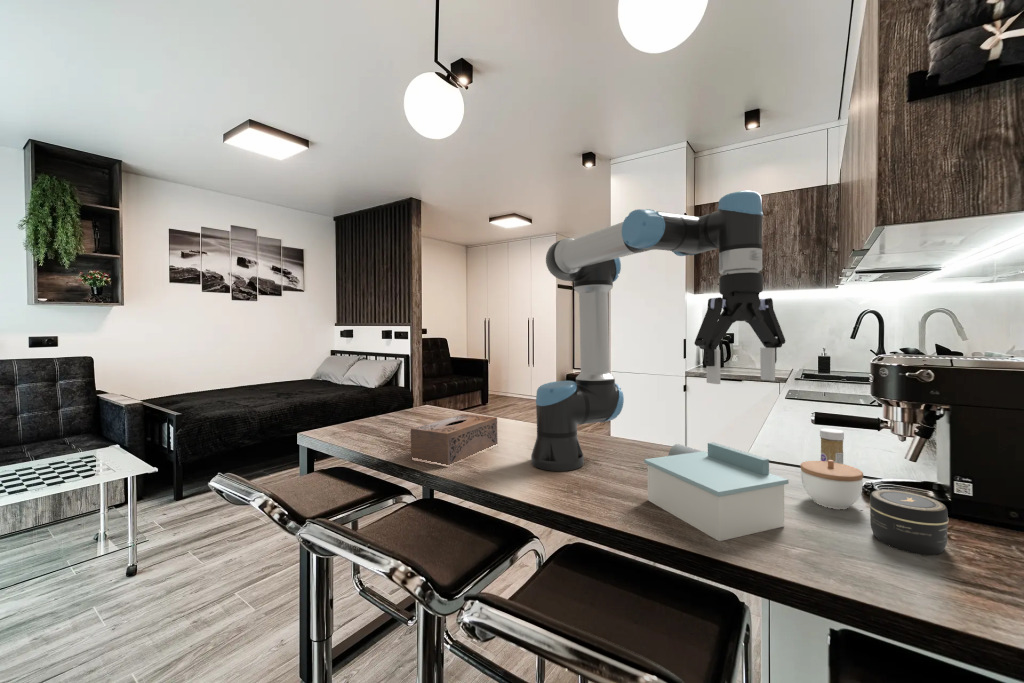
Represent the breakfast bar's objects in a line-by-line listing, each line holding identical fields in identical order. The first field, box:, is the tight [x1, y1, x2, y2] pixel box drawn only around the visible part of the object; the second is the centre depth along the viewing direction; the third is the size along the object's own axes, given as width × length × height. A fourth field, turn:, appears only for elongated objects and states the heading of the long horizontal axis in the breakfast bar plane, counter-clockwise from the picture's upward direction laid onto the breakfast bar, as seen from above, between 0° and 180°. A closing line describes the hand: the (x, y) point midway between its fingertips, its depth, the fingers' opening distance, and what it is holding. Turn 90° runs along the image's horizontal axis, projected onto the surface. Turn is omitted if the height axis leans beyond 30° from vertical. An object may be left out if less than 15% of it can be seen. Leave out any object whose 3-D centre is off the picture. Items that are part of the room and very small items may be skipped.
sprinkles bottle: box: [819, 427, 845, 464], centre depth 100 cm, size 5×5×13 cm
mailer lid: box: [643, 441, 789, 496], centre depth 87 cm, size 21×17×4 cm
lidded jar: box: [800, 460, 864, 510], centre depth 90 cm, size 11×11×9 cm
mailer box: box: [646, 464, 785, 542], centre depth 87 cm, size 20×16×8 cm
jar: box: [869, 489, 950, 556], centre depth 73 cm, size 10×10×8 cm
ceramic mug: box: [667, 443, 702, 456], centre depth 110 cm, size 11×8×8 cm
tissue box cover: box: [410, 413, 498, 465], centre depth 134 cm, size 26×14×10 cm, turn 149°
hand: (741, 381), depth 82 cm, fingers open, 13 cm apart
